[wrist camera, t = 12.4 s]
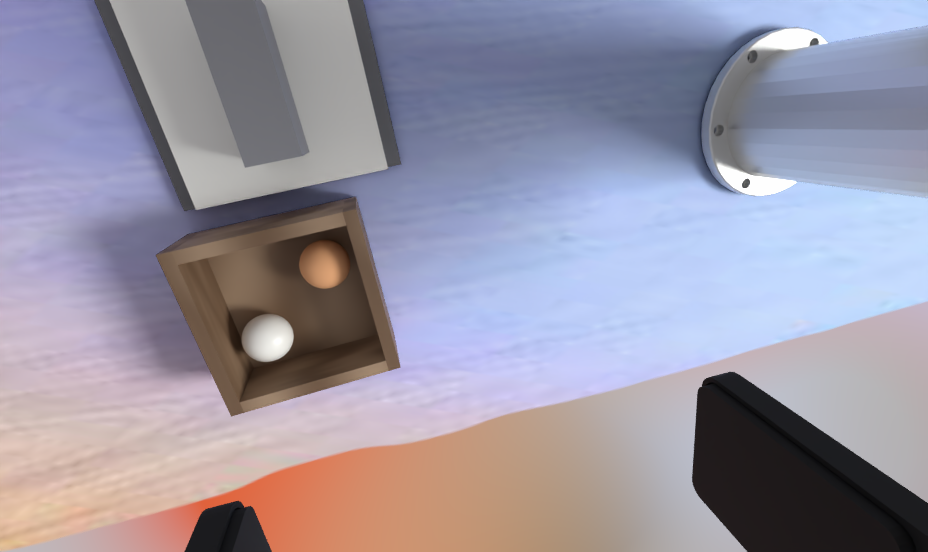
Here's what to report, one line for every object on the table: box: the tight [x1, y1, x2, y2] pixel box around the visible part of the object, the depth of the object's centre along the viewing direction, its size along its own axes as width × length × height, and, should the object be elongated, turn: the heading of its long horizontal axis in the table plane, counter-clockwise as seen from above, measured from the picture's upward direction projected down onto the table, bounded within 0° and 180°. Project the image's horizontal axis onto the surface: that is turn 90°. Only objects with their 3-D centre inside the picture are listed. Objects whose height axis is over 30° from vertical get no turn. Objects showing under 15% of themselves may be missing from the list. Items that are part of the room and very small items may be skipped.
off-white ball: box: [241, 314, 294, 362], centre depth 29 cm, size 3×3×3 cm
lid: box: [109, 0, 388, 210], centre depth 24 cm, size 12×12×5 cm
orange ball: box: [299, 240, 350, 289], centre depth 29 cm, size 3×3×3 cm
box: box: [156, 197, 400, 416], centre depth 29 cm, size 11×11×5 cm
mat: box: [94, 0, 401, 211], centre depth 27 cm, size 14×12×1 cm
